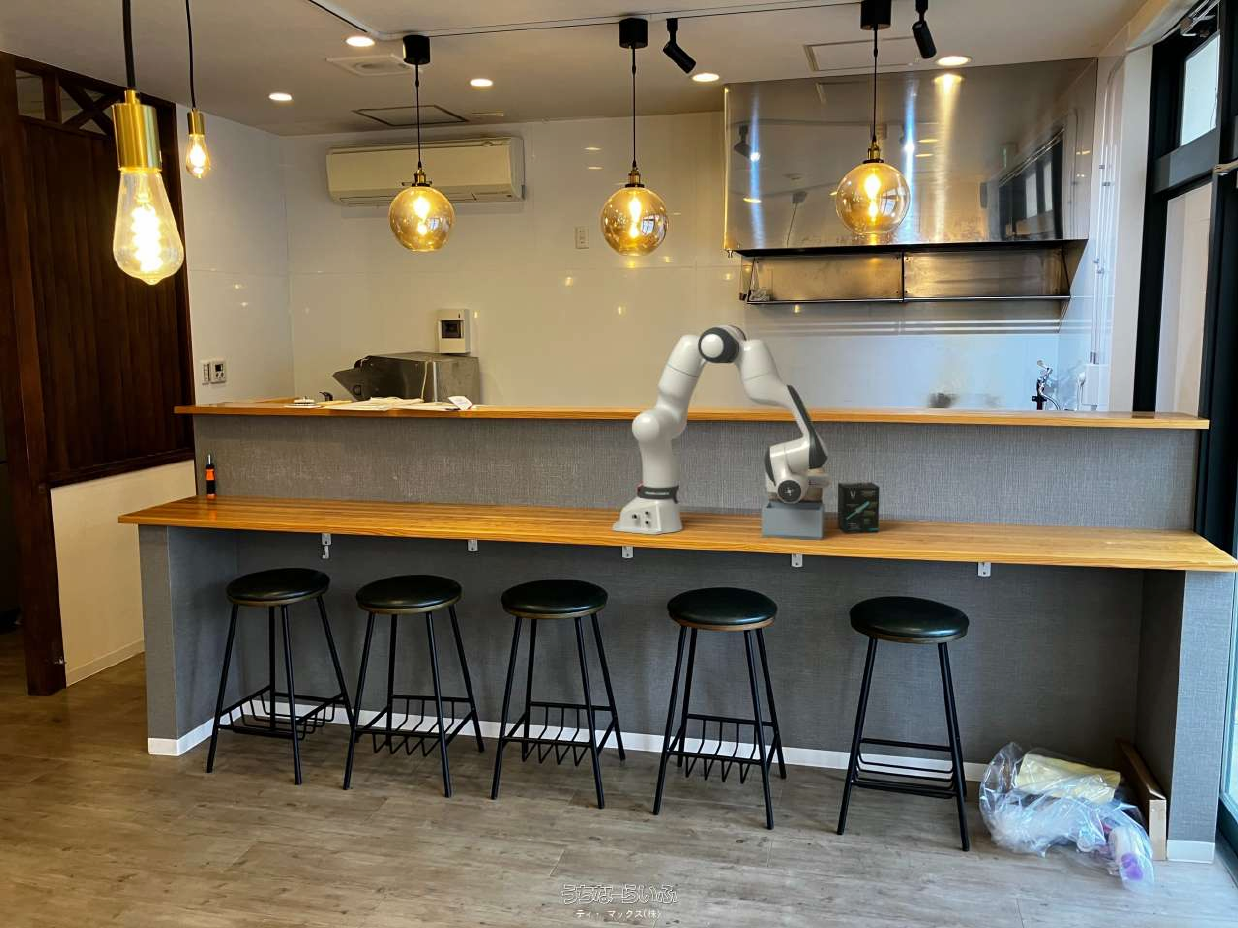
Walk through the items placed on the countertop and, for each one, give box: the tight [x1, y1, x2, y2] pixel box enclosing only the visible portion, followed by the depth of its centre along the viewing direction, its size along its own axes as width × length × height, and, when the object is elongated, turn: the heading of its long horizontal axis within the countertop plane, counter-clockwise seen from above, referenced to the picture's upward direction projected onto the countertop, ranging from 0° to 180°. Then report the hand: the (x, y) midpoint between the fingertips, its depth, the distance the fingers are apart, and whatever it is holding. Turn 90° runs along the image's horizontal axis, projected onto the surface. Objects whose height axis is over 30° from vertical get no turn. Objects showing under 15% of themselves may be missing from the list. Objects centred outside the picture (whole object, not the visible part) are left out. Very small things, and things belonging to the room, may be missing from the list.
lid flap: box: [768, 466, 826, 504], centre depth 306 cm, size 17×1×17 cm
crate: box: [761, 500, 826, 541], centre depth 295 cm, size 18×12×9 cm, turn 74°
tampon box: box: [837, 481, 880, 534], centre depth 300 cm, size 11×9×15 cm
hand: (799, 475), depth 308 cm, fingers closed, pressing on lid flap
